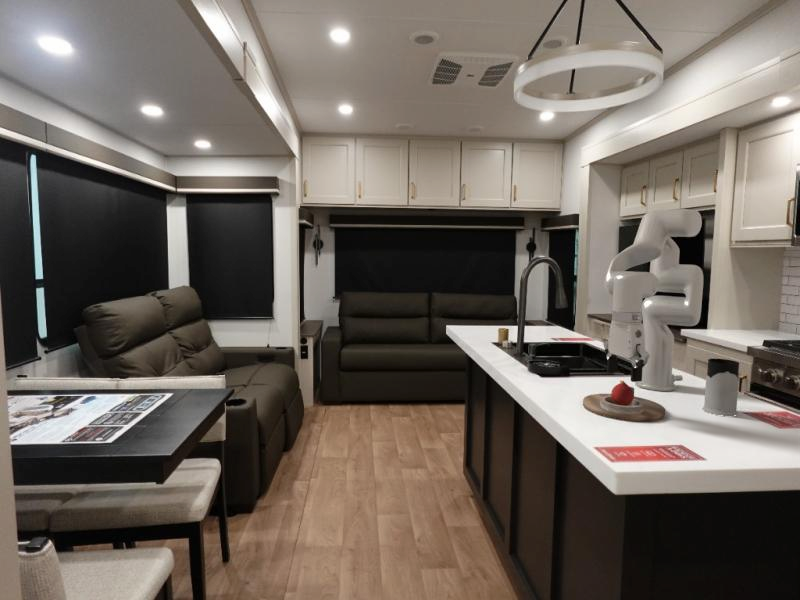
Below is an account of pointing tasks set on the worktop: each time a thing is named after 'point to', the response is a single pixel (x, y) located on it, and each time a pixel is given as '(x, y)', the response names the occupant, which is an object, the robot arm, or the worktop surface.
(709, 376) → the glass holder
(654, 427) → the worktop surface
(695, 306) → the robot arm
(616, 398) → the red rounded piece
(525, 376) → the worktop surface
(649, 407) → the carrier plate
